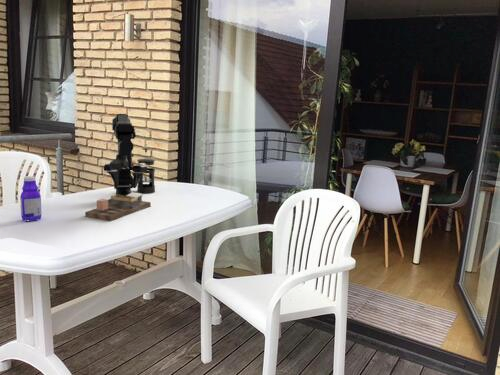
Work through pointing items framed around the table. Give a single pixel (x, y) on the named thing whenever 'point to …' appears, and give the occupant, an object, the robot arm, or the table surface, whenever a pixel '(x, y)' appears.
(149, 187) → the french press
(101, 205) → the peach tinted cube
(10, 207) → the table surface
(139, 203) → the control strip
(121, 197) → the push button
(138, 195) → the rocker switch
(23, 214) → the bottle
